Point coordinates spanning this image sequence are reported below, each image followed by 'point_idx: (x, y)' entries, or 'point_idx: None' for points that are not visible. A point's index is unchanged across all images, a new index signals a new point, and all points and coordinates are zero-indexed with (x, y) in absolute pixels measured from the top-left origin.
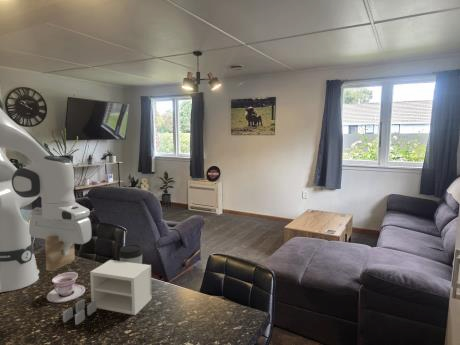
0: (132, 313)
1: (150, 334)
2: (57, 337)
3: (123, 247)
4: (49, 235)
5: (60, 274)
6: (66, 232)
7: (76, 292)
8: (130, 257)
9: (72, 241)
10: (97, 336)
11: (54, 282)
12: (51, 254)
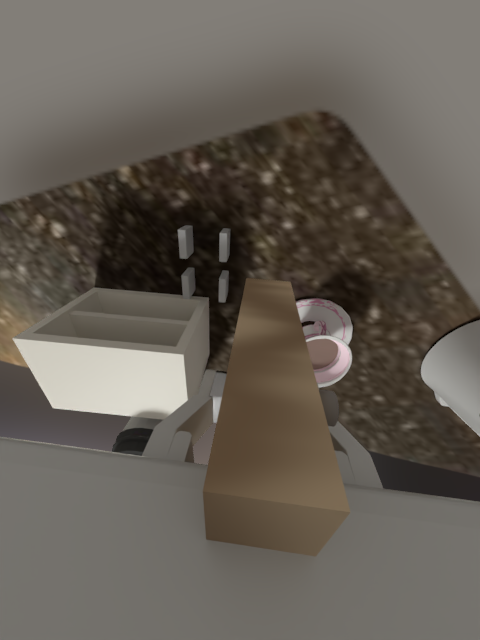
0: (99, 289)
1: (5, 229)
2: (193, 161)
3: None
4: (351, 548)
5: (343, 374)
6: (14, 627)
7: None
8: (126, 432)
9: (28, 459)
10: (102, 192)
11: (332, 337)
12: (243, 330)
